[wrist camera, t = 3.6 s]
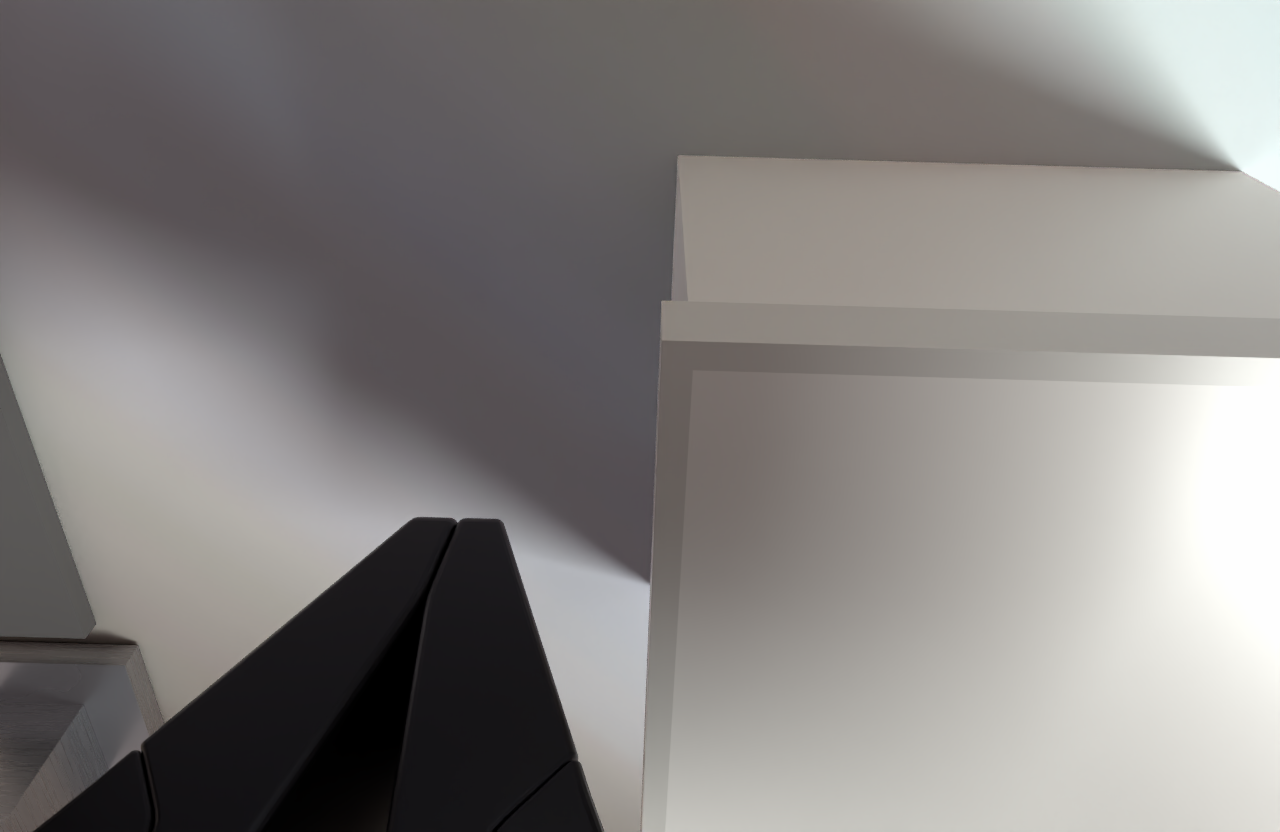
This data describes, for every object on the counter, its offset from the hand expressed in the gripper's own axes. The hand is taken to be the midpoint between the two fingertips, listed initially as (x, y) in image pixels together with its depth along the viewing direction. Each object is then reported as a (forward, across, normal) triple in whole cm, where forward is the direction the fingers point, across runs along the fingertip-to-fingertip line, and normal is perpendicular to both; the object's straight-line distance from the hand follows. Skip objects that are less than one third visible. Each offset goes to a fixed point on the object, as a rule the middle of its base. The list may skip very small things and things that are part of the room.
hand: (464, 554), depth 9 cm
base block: (+3, -5, 0) cm, 6 cm away
